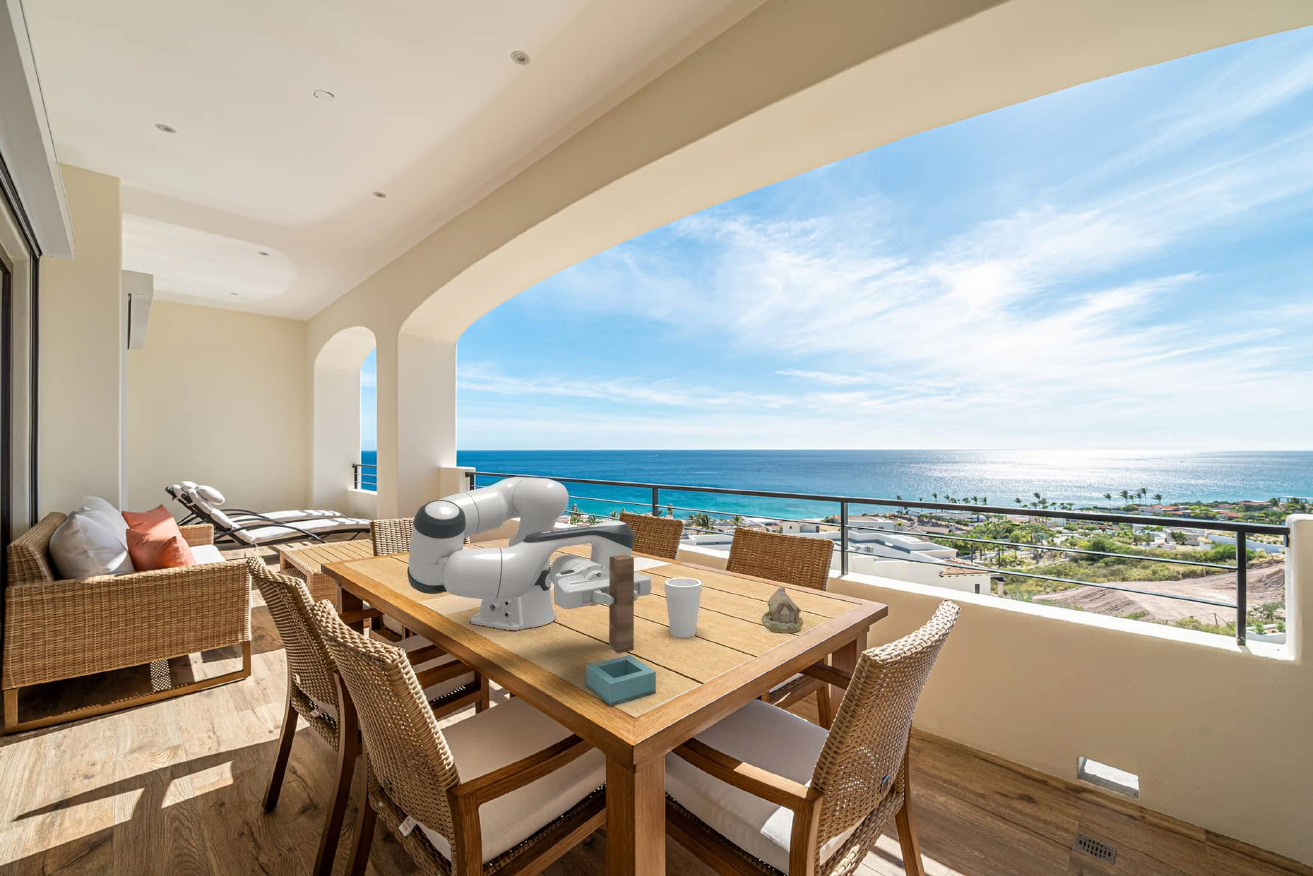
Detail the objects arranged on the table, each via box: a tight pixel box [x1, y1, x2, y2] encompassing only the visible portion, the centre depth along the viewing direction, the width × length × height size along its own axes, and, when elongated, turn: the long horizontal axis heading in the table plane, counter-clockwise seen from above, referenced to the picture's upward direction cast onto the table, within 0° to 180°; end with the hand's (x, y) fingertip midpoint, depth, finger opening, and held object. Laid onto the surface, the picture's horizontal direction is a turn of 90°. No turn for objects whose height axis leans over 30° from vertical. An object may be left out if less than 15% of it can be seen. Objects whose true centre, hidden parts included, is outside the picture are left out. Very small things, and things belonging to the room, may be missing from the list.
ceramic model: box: [760, 586, 804, 634], centre depth 143 cm, size 14×11×10 cm
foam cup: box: [664, 577, 703, 639], centre depth 136 cm, size 10×9×13 cm
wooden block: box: [608, 555, 635, 654], centre depth 105 cm, size 4×4×18 cm
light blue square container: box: [585, 654, 657, 707], centre depth 105 cm, size 10×10×4 cm
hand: (623, 598), depth 104 cm, fingers closed on wooden block, 3 cm apart
